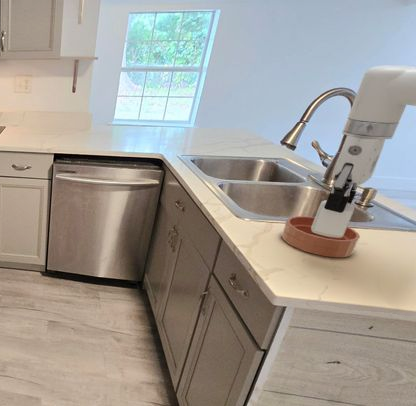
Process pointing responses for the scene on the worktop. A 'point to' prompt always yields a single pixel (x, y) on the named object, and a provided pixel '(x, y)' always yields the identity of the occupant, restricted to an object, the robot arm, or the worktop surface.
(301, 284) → the worktop surface
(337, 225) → the eye dropper bottle
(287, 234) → the bowl
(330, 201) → the robot arm
